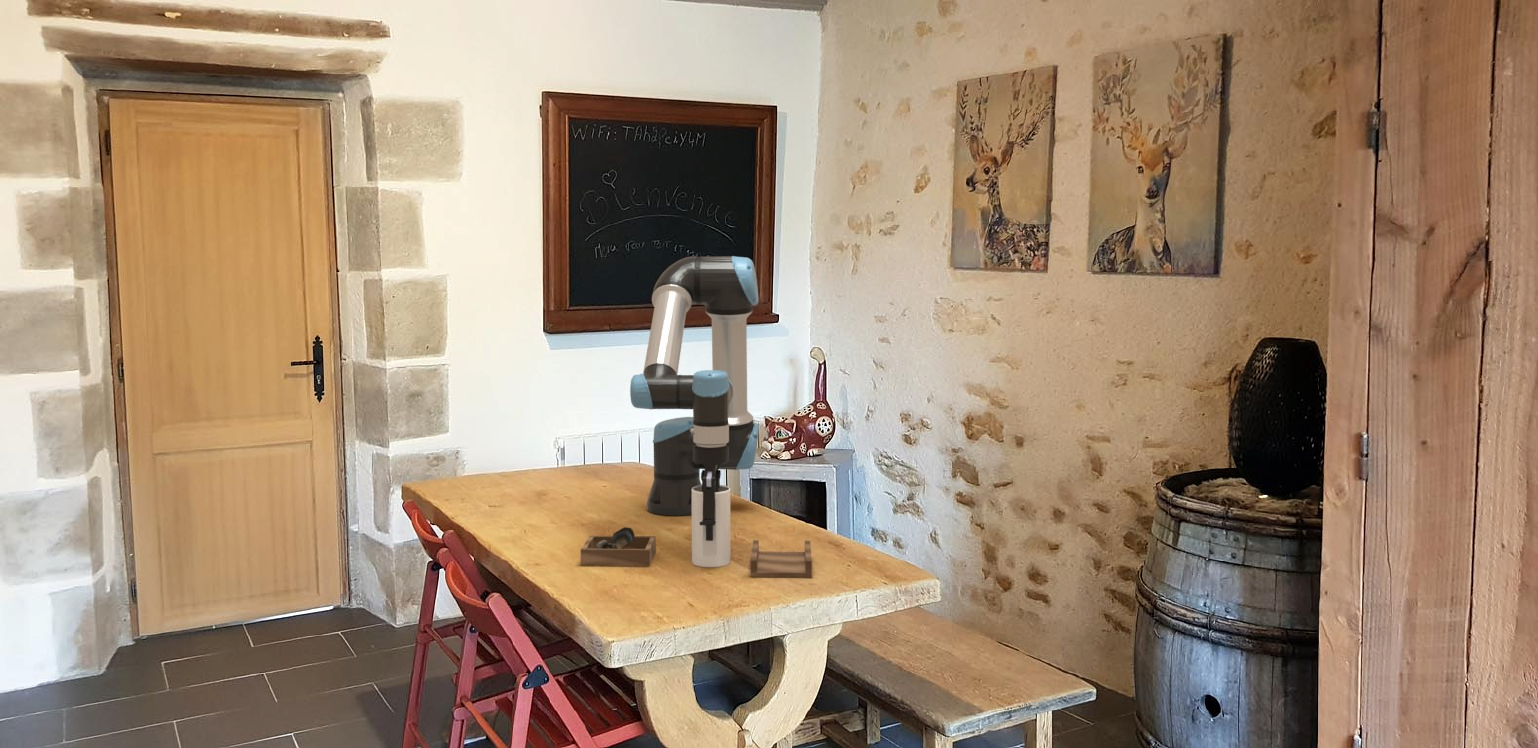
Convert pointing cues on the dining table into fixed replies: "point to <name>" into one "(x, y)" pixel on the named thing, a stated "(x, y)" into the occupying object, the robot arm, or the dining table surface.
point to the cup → (721, 528)
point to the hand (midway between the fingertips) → (711, 549)
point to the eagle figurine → (618, 539)
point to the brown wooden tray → (781, 563)
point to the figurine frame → (619, 552)
